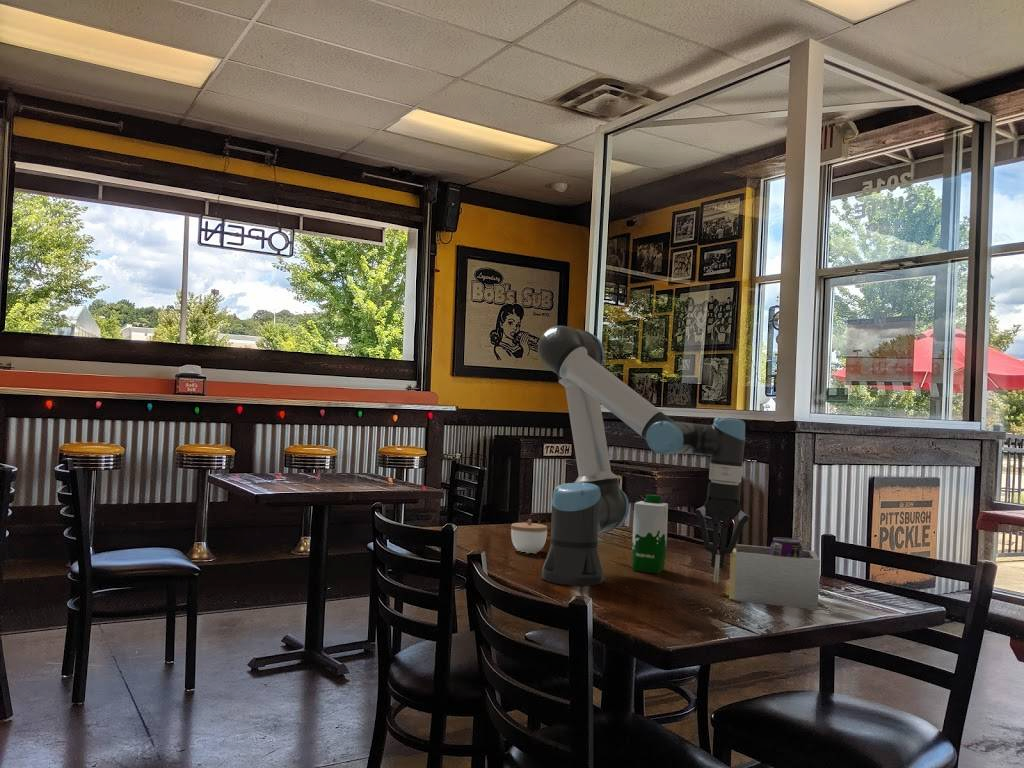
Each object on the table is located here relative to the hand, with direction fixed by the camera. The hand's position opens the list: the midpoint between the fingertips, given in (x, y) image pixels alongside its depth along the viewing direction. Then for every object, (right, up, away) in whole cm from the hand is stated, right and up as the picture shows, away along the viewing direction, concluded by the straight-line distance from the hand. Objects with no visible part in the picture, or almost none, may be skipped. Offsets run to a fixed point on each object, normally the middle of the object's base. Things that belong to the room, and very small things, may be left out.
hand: (715, 581), depth 193 cm
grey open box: (+13, -3, -3) cm, 14 cm away
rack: (+12, -3, -3) cm, 12 cm away
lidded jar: (-44, -2, +45) cm, 63 cm away
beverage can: (+15, -1, -4) cm, 16 cm away
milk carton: (-12, -3, +25) cm, 28 cm away
